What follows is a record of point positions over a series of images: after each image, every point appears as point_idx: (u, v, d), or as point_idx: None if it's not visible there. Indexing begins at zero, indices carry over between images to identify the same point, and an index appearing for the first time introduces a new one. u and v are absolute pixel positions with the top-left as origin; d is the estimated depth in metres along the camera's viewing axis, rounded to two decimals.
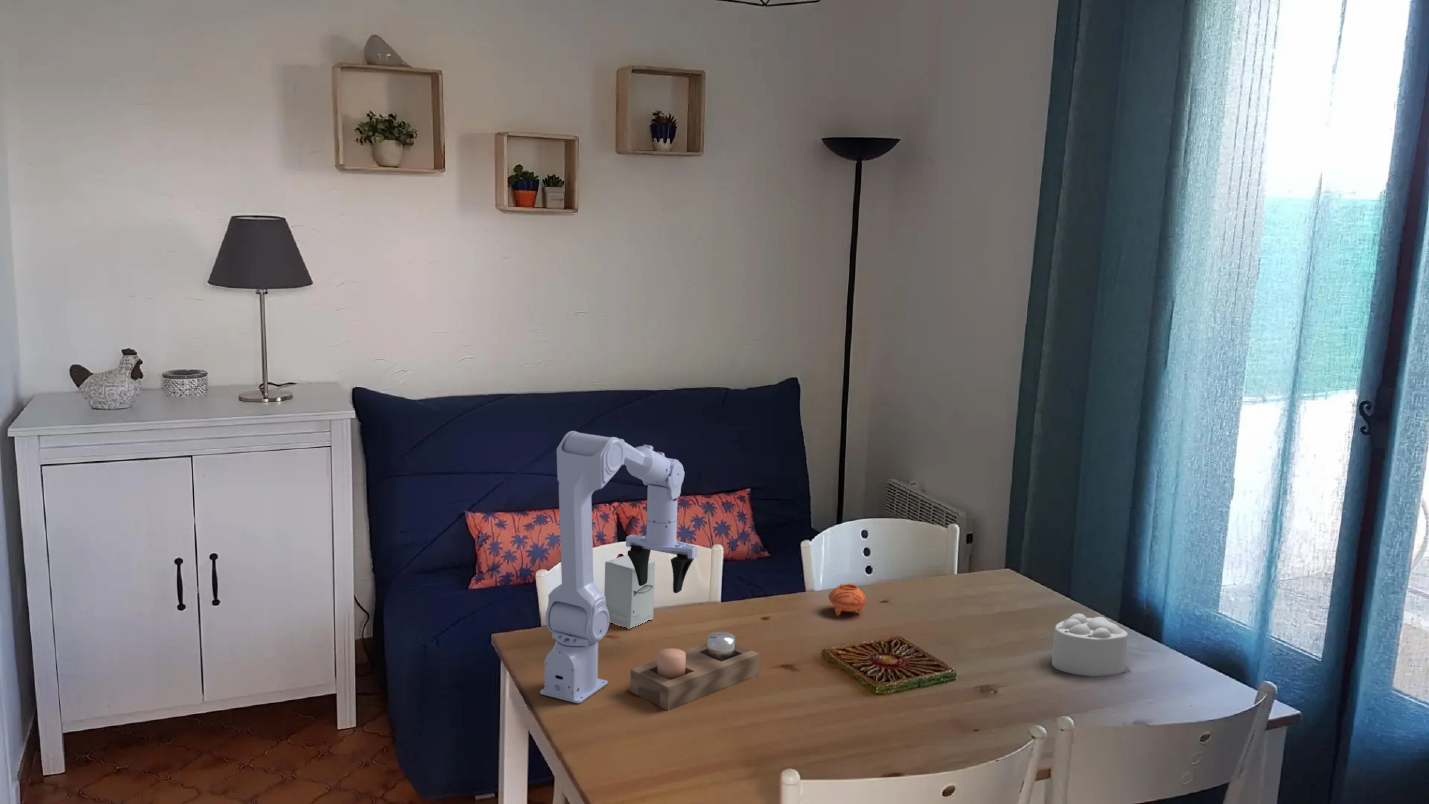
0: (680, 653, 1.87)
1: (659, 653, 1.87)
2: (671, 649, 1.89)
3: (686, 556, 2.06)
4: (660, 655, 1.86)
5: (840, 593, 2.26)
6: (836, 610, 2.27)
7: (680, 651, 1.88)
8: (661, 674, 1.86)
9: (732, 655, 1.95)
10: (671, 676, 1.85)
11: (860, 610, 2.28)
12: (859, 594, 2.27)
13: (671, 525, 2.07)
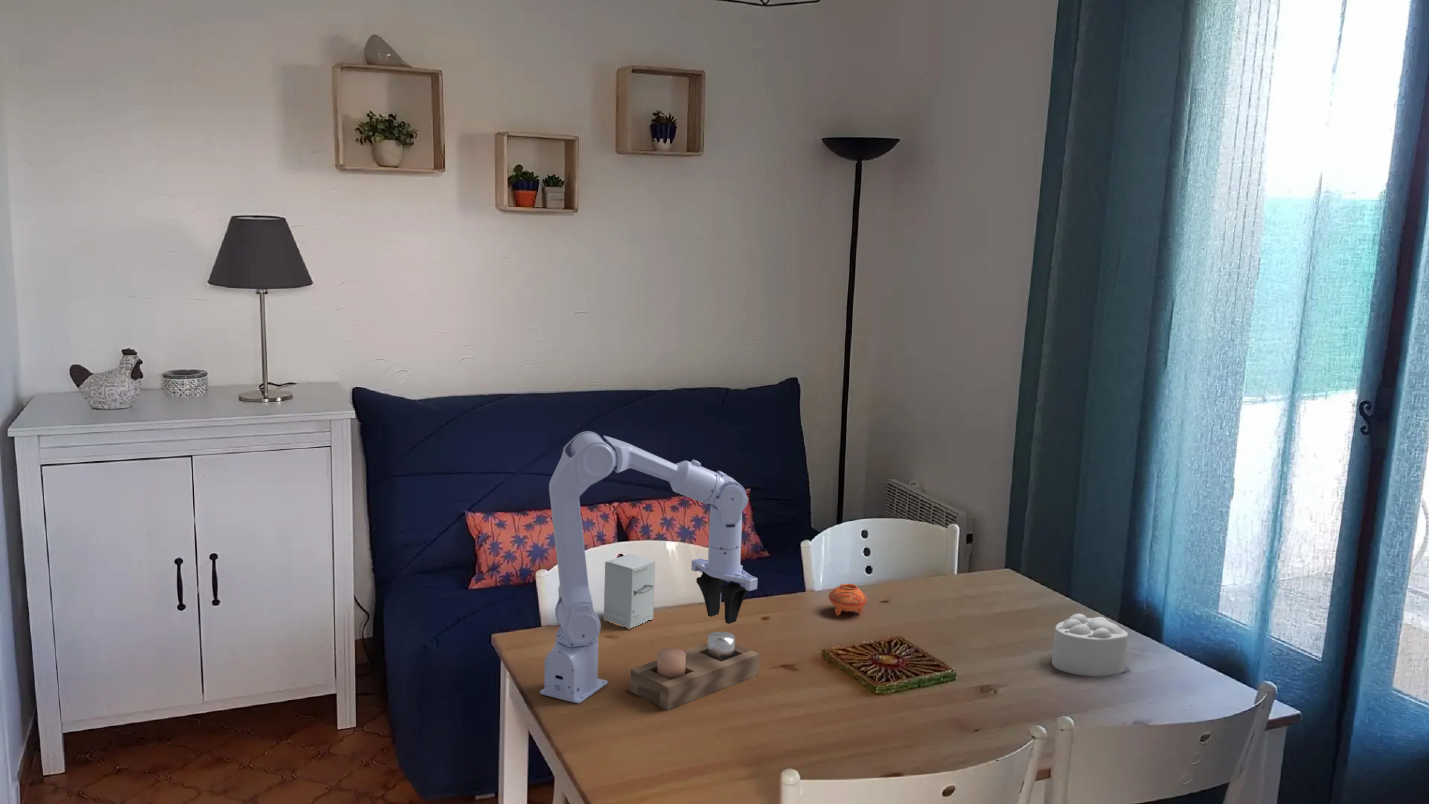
0: (680, 653, 1.87)
1: (659, 653, 1.87)
2: (671, 649, 1.89)
3: (744, 587, 1.89)
4: (660, 655, 1.86)
5: (840, 593, 2.26)
6: (836, 610, 2.27)
7: (680, 651, 1.88)
8: (661, 674, 1.86)
9: (732, 655, 1.95)
10: (671, 676, 1.85)
11: (860, 610, 2.28)
12: (859, 594, 2.27)
13: (731, 552, 1.90)
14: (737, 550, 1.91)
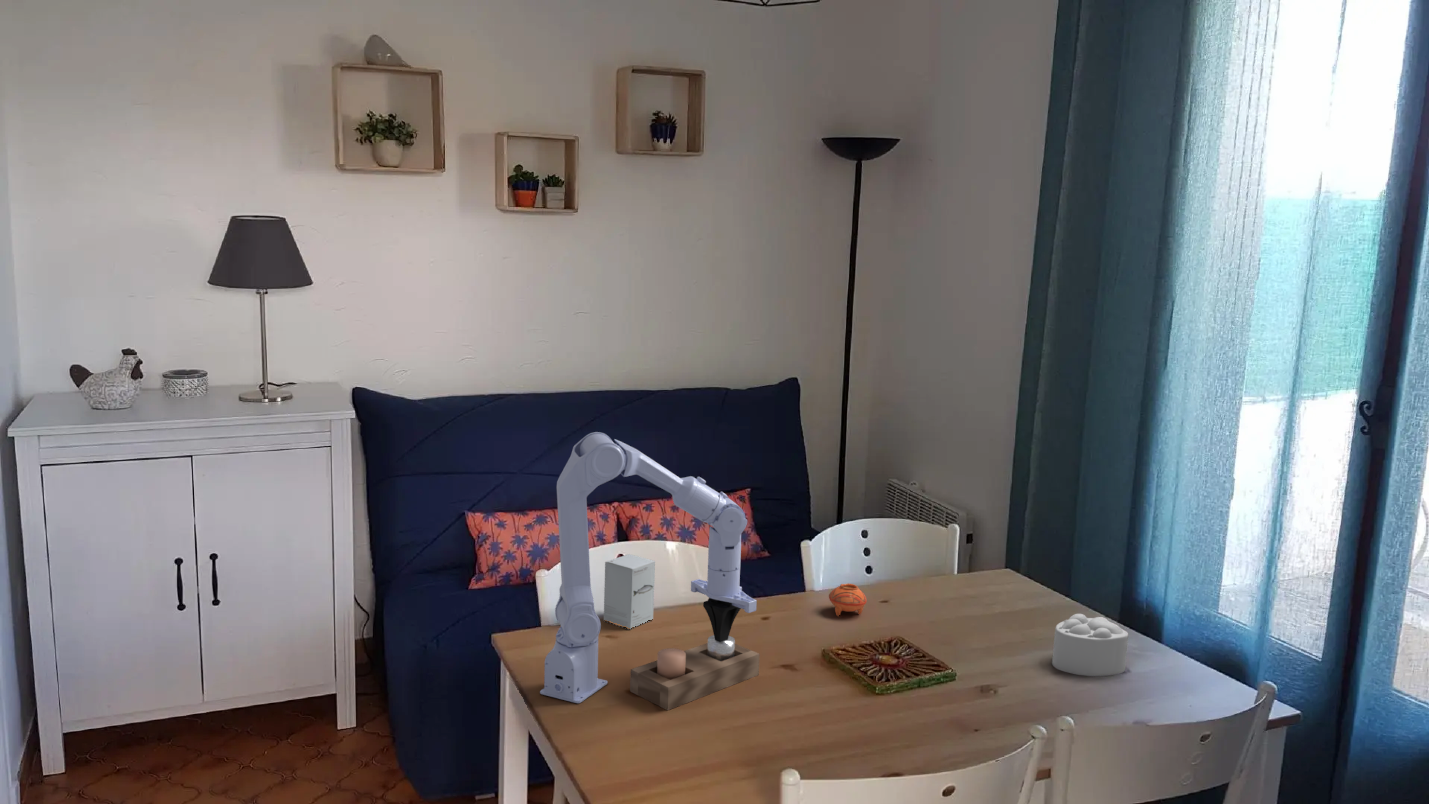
0: (680, 653, 1.87)
1: (659, 653, 1.87)
2: (671, 649, 1.89)
3: None
4: (660, 655, 1.86)
5: (840, 593, 2.26)
6: (836, 610, 2.27)
7: (680, 651, 1.88)
8: (661, 674, 1.86)
9: None
10: (671, 676, 1.85)
11: (860, 610, 2.28)
12: (859, 594, 2.27)
13: (730, 574, 1.91)
14: (736, 572, 1.92)
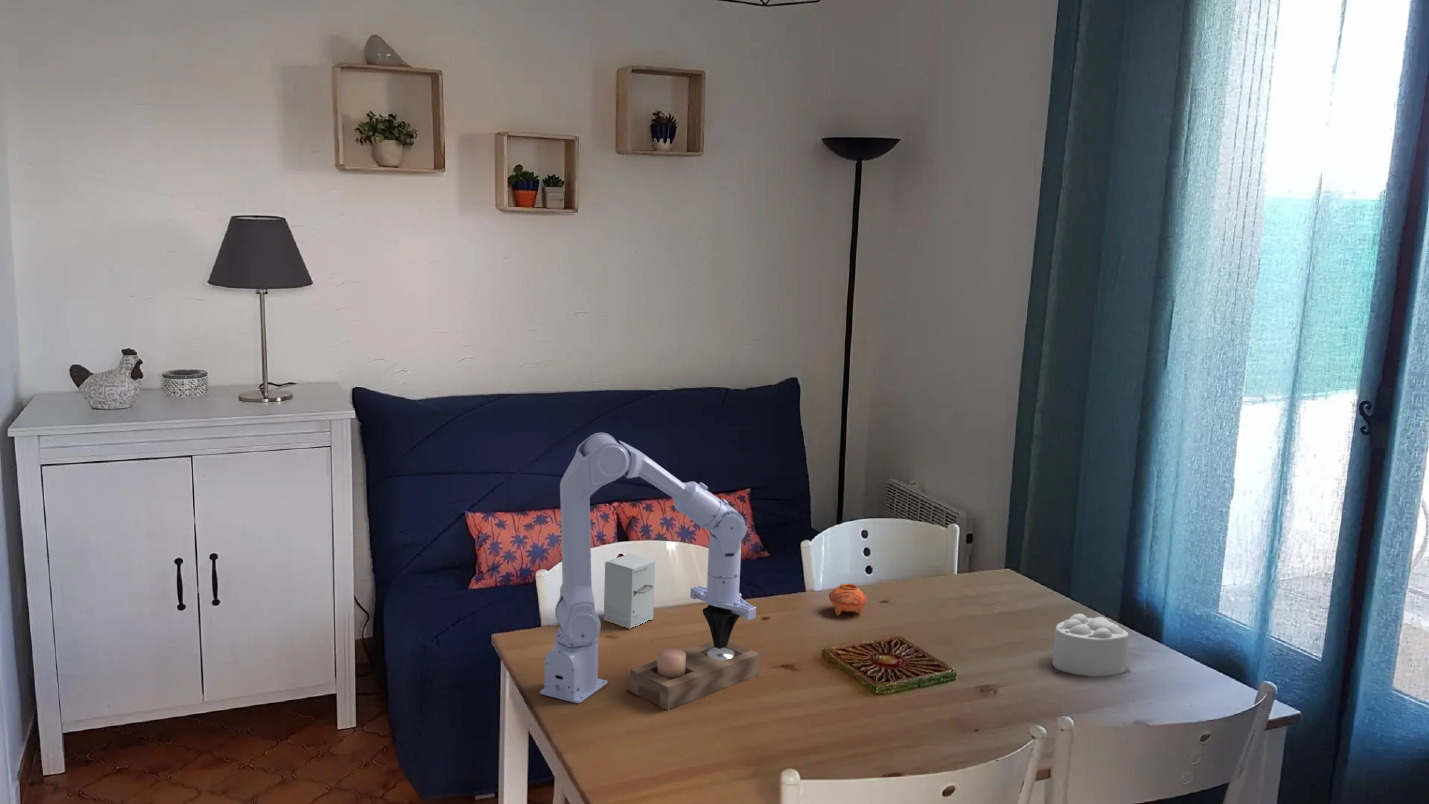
0: (680, 653, 1.87)
1: (659, 653, 1.87)
2: (671, 649, 1.89)
3: (743, 616, 1.90)
4: (660, 655, 1.86)
5: (840, 593, 2.26)
6: (836, 610, 2.27)
7: (680, 651, 1.88)
8: (661, 674, 1.86)
9: None
10: (671, 676, 1.85)
11: (860, 610, 2.28)
12: (859, 594, 2.27)
13: (730, 581, 1.91)
14: (736, 579, 1.92)
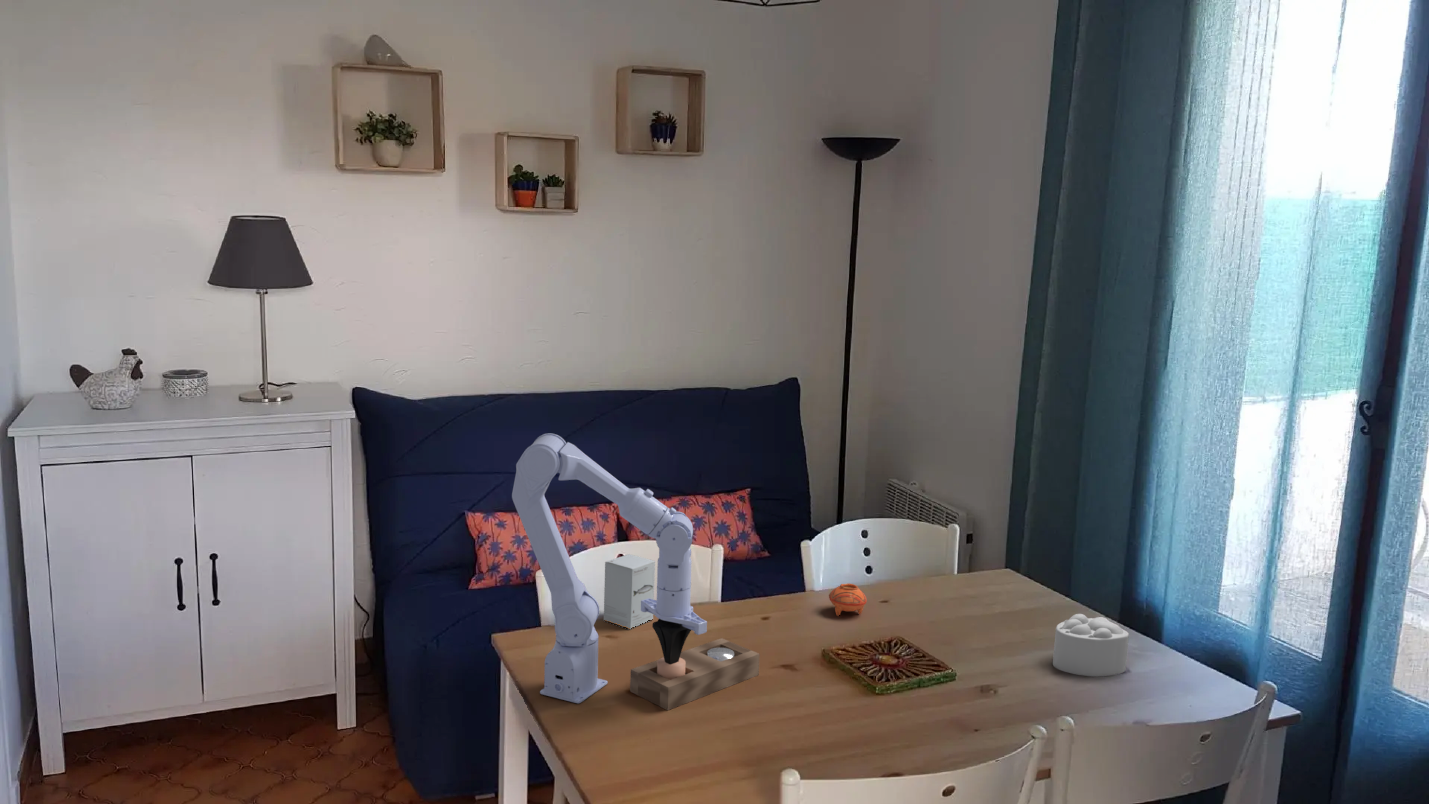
0: (680, 661, 1.88)
1: (659, 661, 1.87)
2: None
3: None
4: (660, 663, 1.86)
5: (840, 593, 2.26)
6: (836, 610, 2.27)
7: (680, 659, 1.88)
8: None
9: None
10: None
11: (860, 610, 2.28)
12: (859, 594, 2.27)
13: (680, 594, 1.83)
14: (686, 591, 1.83)
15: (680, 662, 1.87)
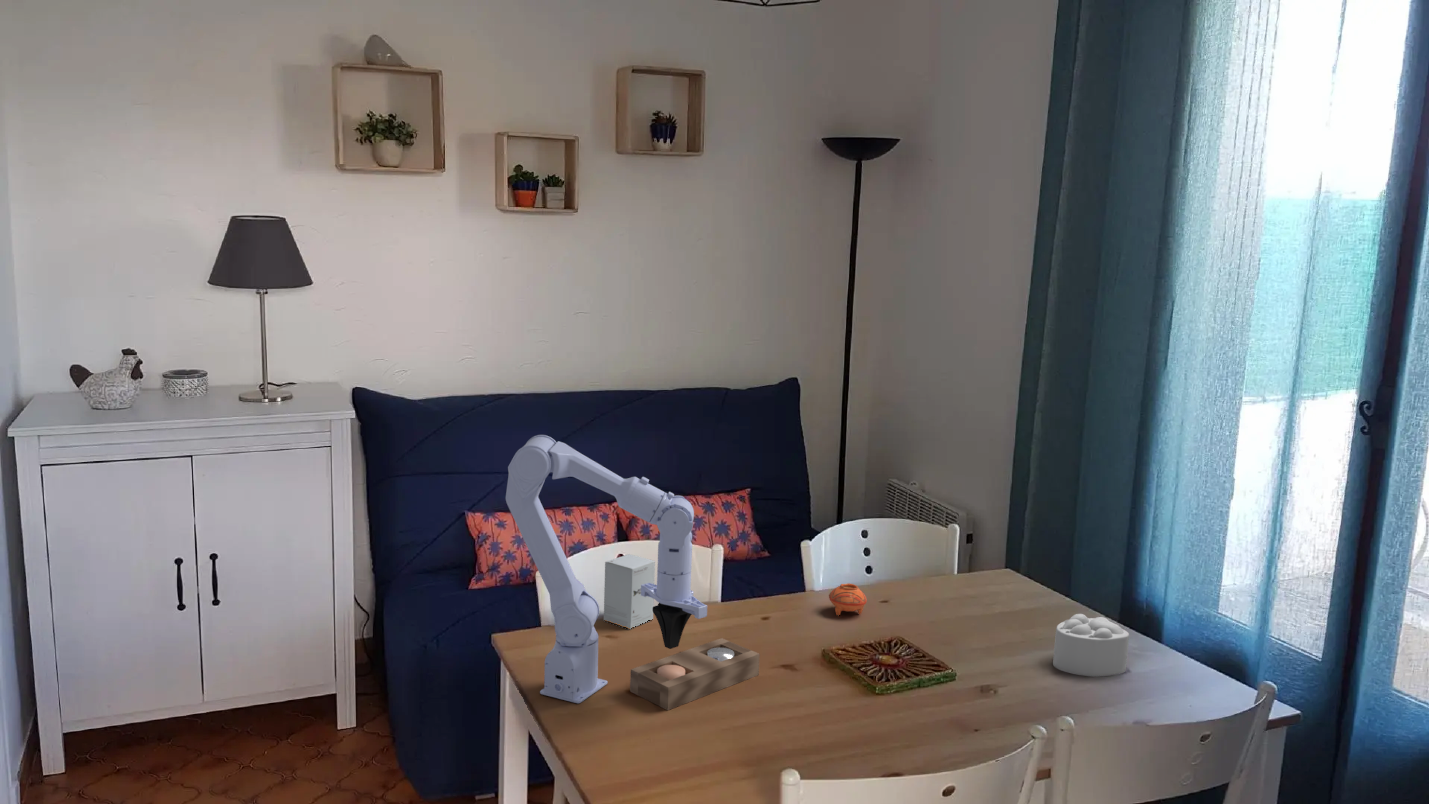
0: (679, 670, 1.88)
1: (659, 670, 1.88)
2: (671, 665, 1.90)
3: None
4: (660, 672, 1.87)
5: (840, 593, 2.26)
6: (836, 610, 2.27)
7: (679, 668, 1.89)
8: None
9: None
10: None
11: (860, 610, 2.28)
12: (859, 594, 2.27)
13: (680, 578, 1.82)
14: (687, 576, 1.83)
15: (680, 671, 1.87)
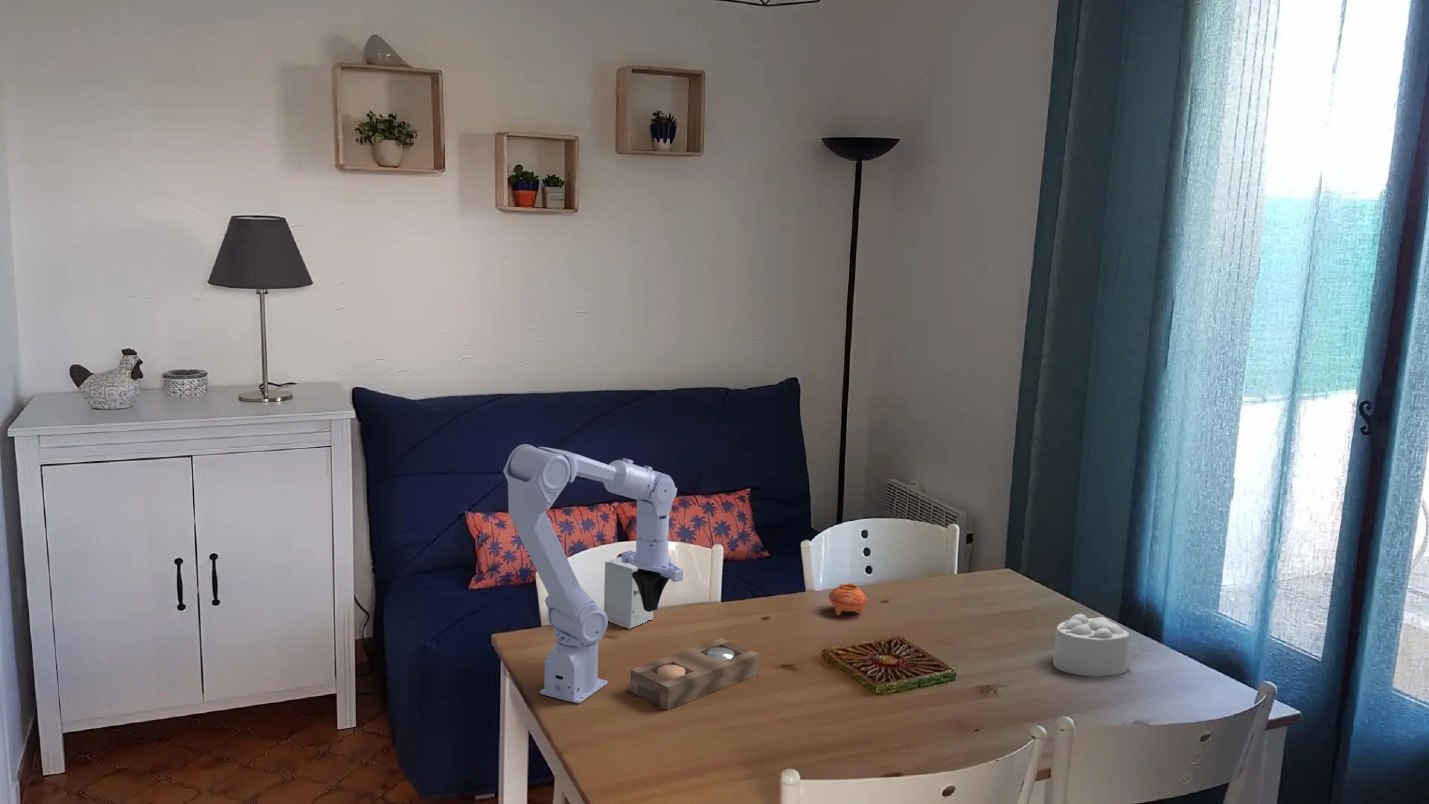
0: (679, 670, 1.88)
1: (659, 670, 1.88)
2: (671, 665, 1.90)
3: None
4: (660, 672, 1.87)
5: (840, 593, 2.26)
6: (836, 610, 2.27)
7: (679, 668, 1.89)
8: None
9: None
10: None
11: (860, 610, 2.28)
12: (859, 594, 2.27)
13: (658, 544, 1.93)
14: (664, 542, 1.94)
15: (680, 671, 1.87)
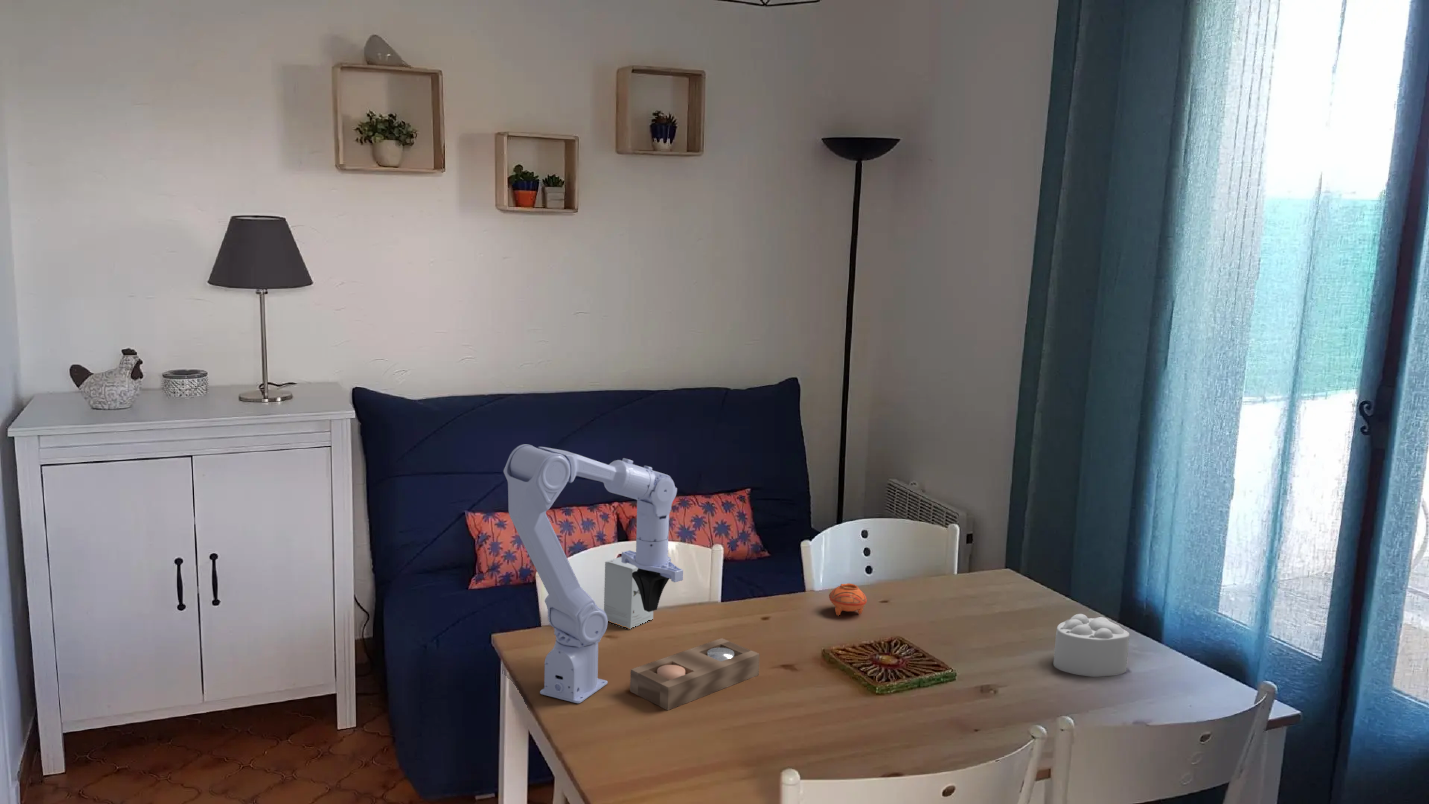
0: (679, 670, 1.88)
1: (659, 670, 1.88)
2: (671, 665, 1.90)
3: None
4: (660, 672, 1.87)
5: (841, 593, 2.26)
6: (836, 610, 2.27)
7: (679, 668, 1.89)
8: None
9: None
10: None
11: (860, 610, 2.28)
12: (859, 594, 2.27)
13: (658, 544, 1.93)
14: (664, 542, 1.94)
15: (680, 671, 1.87)
